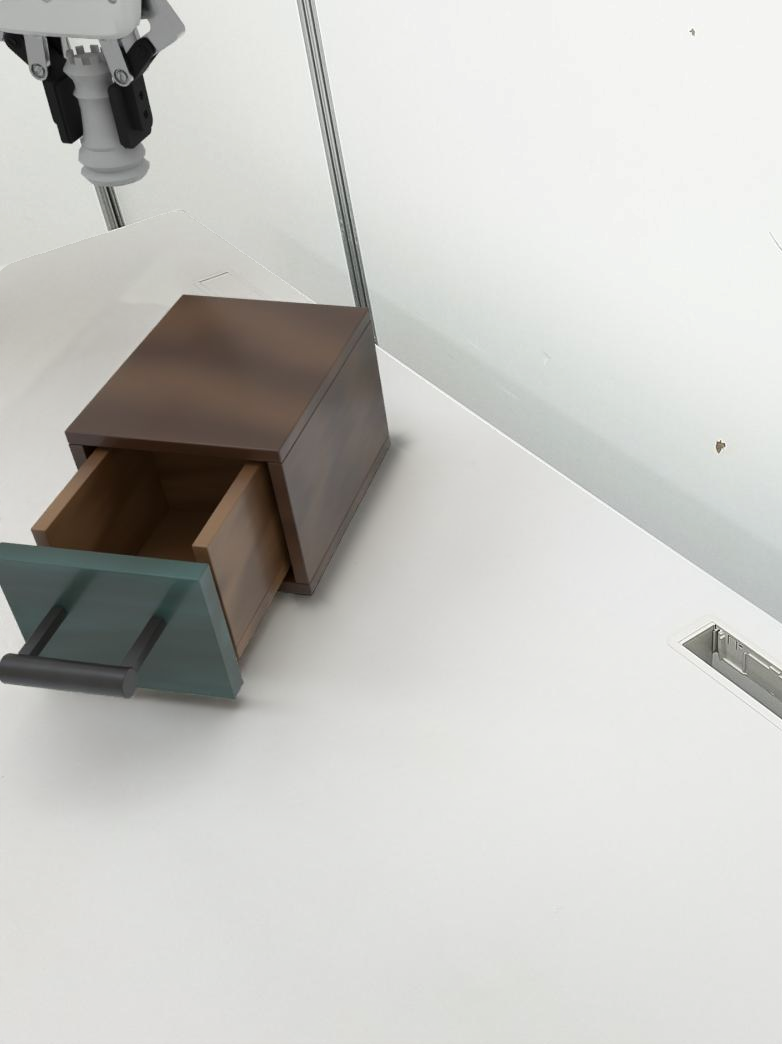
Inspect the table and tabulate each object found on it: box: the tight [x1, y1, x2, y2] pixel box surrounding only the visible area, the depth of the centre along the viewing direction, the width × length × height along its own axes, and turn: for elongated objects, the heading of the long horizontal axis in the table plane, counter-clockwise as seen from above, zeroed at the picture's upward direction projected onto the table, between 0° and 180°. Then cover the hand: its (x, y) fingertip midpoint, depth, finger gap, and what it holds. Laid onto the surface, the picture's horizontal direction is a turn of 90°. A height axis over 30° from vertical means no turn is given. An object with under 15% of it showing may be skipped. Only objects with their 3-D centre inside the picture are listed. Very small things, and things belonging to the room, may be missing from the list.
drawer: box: [0, 446, 292, 700], centre depth 64 cm, size 18×10×8 cm, turn 170°
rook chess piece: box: [63, 44, 151, 188], centre depth 82 cm, size 4×4×8 cm
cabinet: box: [64, 293, 391, 596], centre depth 72 cm, size 15×12×10 cm
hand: (107, 135), depth 83 cm, fingers closed on rook chess piece, 3 cm apart
